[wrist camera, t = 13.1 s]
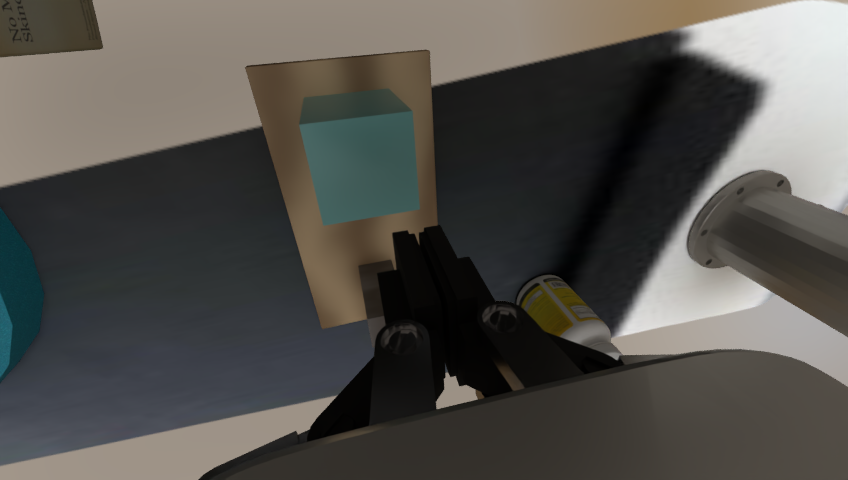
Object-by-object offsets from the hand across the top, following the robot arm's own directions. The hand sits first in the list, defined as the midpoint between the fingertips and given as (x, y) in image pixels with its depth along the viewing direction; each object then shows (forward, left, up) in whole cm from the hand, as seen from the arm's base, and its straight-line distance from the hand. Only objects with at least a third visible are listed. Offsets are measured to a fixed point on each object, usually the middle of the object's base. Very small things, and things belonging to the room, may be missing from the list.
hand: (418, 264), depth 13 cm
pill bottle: (-17, +21, -18) cm, 32 cm away
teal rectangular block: (+1, 0, -17) cm, 17 cm away
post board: (+1, +6, -18) cm, 19 cm away
